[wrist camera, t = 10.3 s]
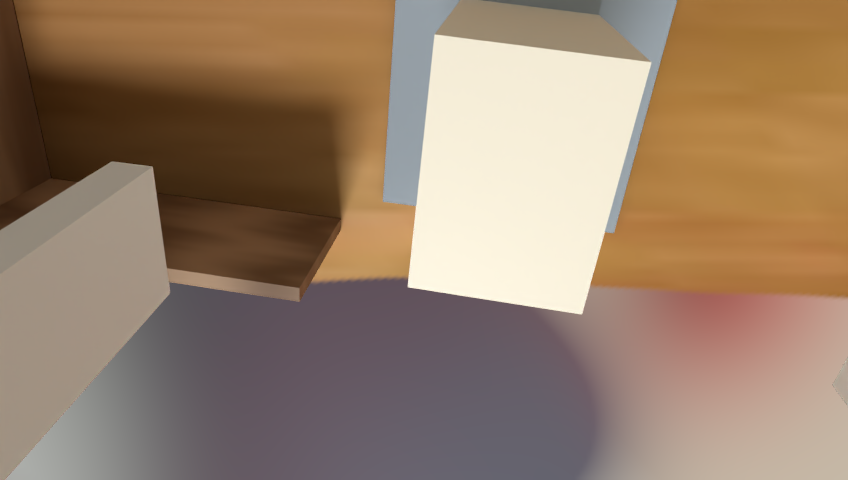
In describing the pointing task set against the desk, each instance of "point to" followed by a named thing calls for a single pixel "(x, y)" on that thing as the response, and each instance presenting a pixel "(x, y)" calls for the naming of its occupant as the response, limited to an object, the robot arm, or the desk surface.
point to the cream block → (522, 152)
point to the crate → (163, 205)
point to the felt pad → (411, 65)
